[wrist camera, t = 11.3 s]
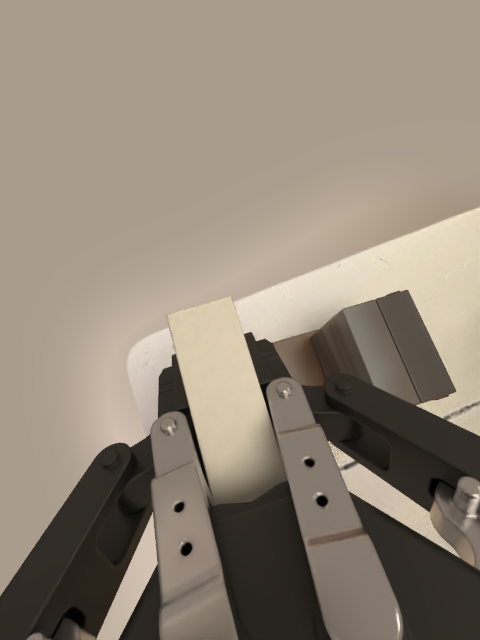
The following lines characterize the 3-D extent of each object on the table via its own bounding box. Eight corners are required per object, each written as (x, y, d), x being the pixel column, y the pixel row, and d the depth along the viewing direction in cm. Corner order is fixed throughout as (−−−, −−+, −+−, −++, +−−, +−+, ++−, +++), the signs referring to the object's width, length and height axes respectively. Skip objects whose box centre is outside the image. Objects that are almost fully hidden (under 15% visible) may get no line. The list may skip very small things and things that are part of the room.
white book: (228, 470, 17) (221, 534, 9) (196, 352, 19) (165, 314, 10) (268, 457, 17) (298, 507, 9) (233, 341, 19) (231, 295, 11)
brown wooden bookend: (202, 459, 27) (181, 494, 17) (180, 372, 29) (150, 357, 19) (391, 397, 28) (474, 395, 18) (358, 318, 30) (417, 278, 20)
